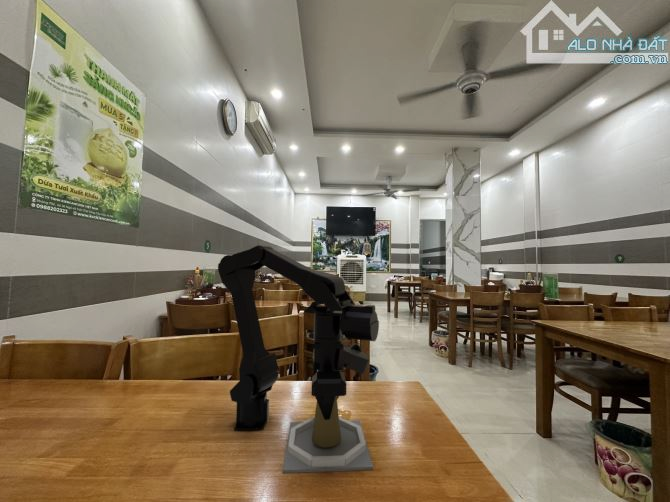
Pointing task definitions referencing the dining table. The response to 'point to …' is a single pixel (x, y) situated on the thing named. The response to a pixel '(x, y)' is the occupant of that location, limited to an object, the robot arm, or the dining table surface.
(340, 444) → the collar plate
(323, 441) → the olive brown pawn
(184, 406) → the dining table surface
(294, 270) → the robot arm
